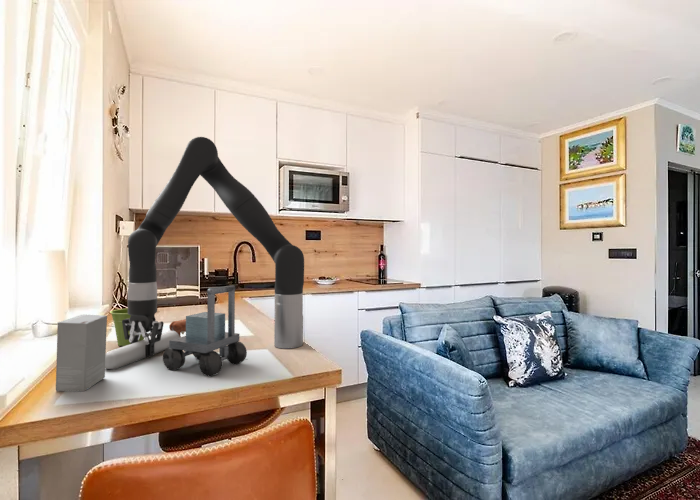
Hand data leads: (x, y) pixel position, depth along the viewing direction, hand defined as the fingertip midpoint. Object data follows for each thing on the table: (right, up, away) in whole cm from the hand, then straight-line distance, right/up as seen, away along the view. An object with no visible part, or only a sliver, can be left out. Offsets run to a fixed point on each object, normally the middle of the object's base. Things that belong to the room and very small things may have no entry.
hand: (142, 355), depth 106 cm
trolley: (+22, -1, -8) cm, 23 cm away
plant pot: (-12, -1, +14) cm, 18 cm away
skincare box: (-1, -1, -22) cm, 22 cm away
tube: (0, -1, 0) cm, 1 cm away
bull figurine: (+4, -1, +21) cm, 21 cm away
